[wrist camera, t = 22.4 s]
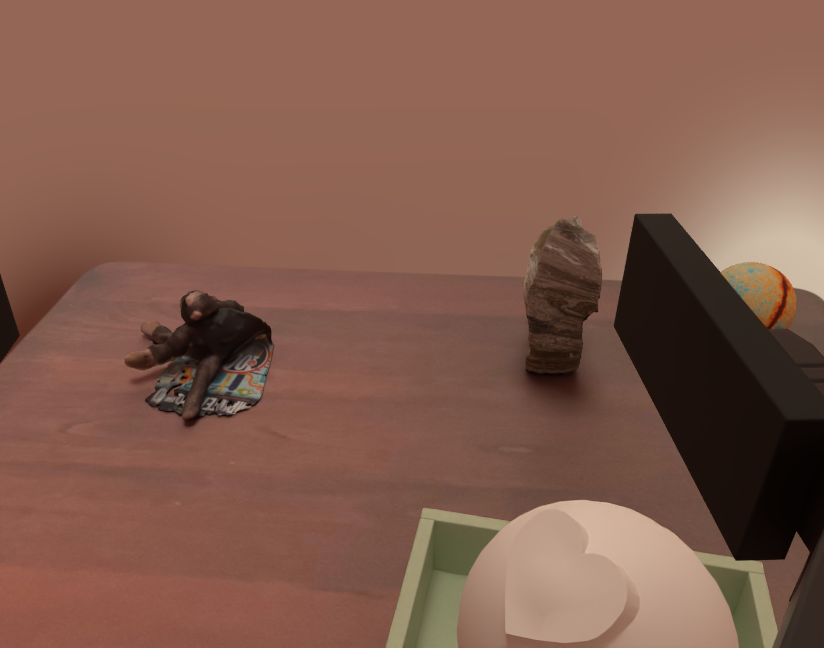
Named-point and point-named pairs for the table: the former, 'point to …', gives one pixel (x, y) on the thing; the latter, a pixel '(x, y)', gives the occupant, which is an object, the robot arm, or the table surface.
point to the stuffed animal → (207, 357)
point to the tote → (468, 535)
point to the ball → (764, 293)
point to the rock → (560, 295)
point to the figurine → (591, 585)
